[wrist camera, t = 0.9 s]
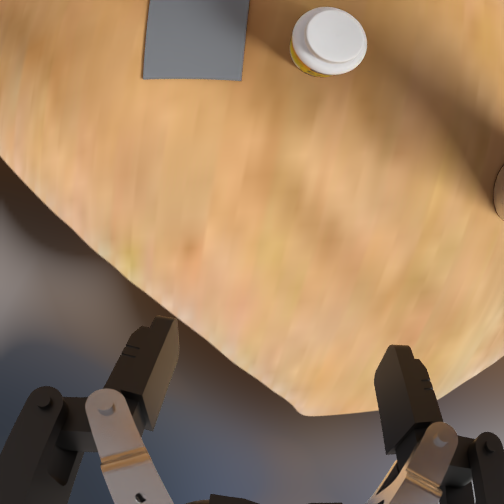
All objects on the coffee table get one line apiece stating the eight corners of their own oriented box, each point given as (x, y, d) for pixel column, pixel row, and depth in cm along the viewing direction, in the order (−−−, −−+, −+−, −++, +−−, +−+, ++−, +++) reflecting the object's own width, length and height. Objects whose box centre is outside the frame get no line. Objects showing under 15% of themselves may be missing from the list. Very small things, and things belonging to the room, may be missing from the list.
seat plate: (250, -11, 23) (250, -12, 23) (241, 80, 28) (240, 80, 28) (152, -8, 23) (151, -9, 23) (144, 79, 28) (142, 79, 28)
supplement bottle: (297, 82, 28) (304, 80, 19) (282, 30, 25) (283, 5, 16) (353, 73, 26) (384, 68, 18) (339, 21, 24) (364, -5, 15)
